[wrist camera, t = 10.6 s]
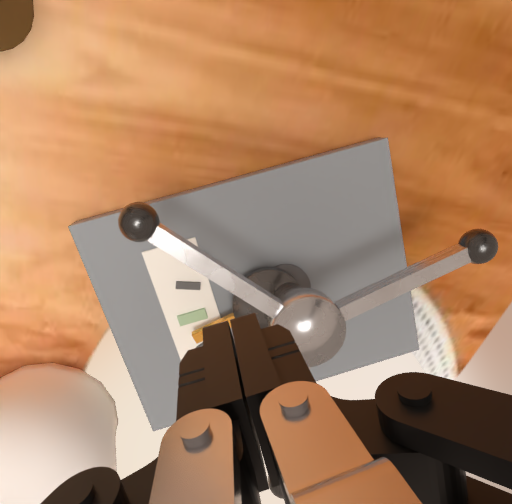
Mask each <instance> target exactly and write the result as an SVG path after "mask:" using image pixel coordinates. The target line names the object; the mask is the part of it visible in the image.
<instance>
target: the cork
mask: <svg viewBox="0 0 512 504" xmlns="http://www.w3.org/2000/svg"><path fill="white" fill-rule="evenodd" d="M33 18H34V10H33V0H0V51H4V50H8V49H12V48H14V47H15V46H17V45H18V44H20V43H21V42H23V41H24V39H25V38H26V36H27V35H28V33H29V32H30V30H31V27H32V22H33Z"/></svg>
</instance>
